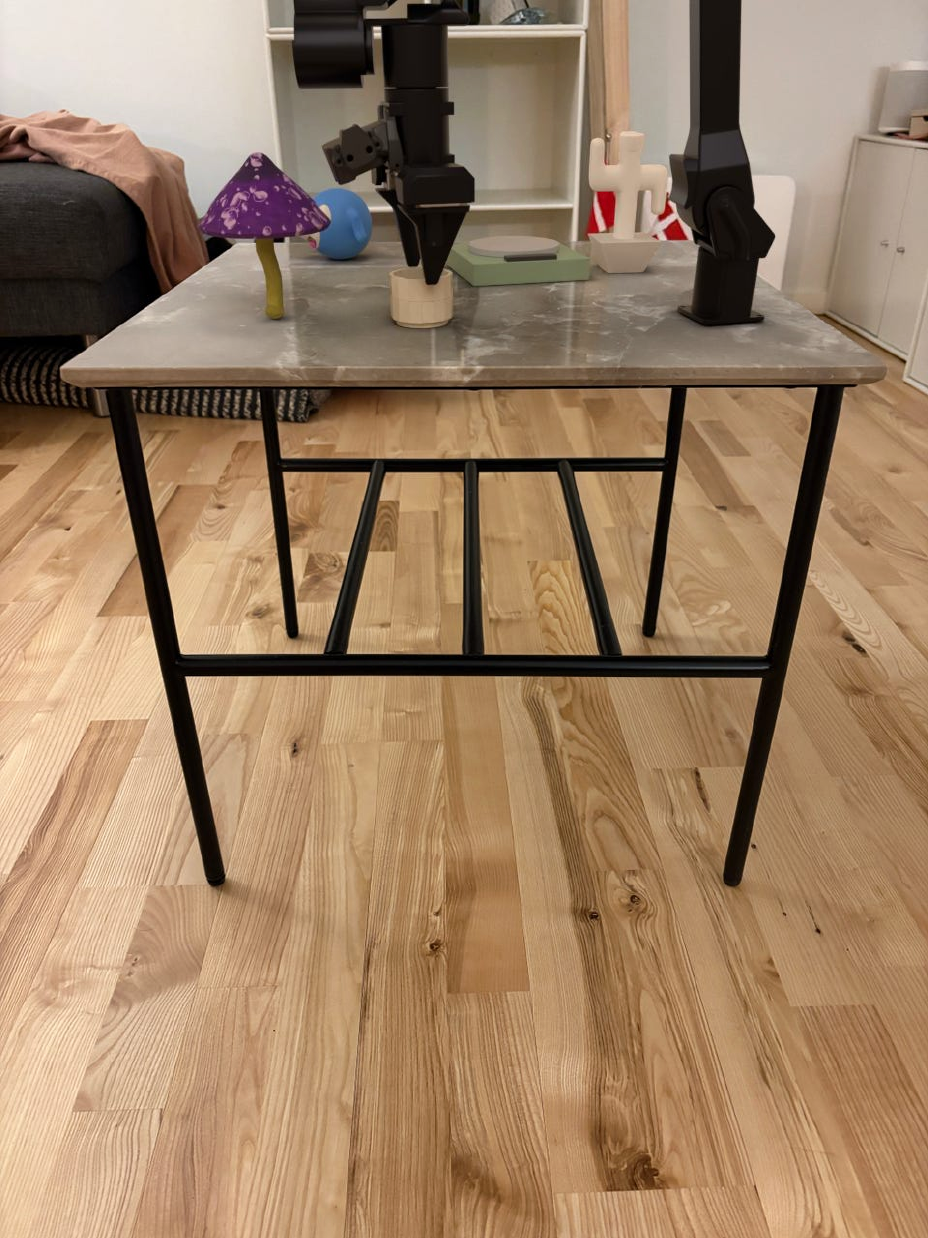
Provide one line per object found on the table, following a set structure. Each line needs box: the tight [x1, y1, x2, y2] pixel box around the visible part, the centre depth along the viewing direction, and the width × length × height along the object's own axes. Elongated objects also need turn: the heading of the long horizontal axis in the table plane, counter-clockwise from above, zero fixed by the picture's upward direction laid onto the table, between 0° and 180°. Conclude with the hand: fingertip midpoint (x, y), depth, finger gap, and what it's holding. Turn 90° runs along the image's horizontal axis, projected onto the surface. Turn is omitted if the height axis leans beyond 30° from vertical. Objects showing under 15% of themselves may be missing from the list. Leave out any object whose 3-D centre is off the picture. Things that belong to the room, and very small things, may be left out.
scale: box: [446, 235, 591, 287], centre depth 112 cm, size 14×14×3 cm
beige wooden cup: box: [388, 266, 454, 329], centre depth 90 cm, size 6×6×5 cm
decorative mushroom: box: [197, 151, 331, 320], centre depth 88 cm, size 12×12×15 cm
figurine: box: [587, 130, 669, 274], centre depth 109 cm, size 7×9×15 cm
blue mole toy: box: [298, 187, 373, 260], centre depth 118 cm, size 12×12×8 cm
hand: (421, 275), depth 89 cm, fingers open, 9 cm apart
